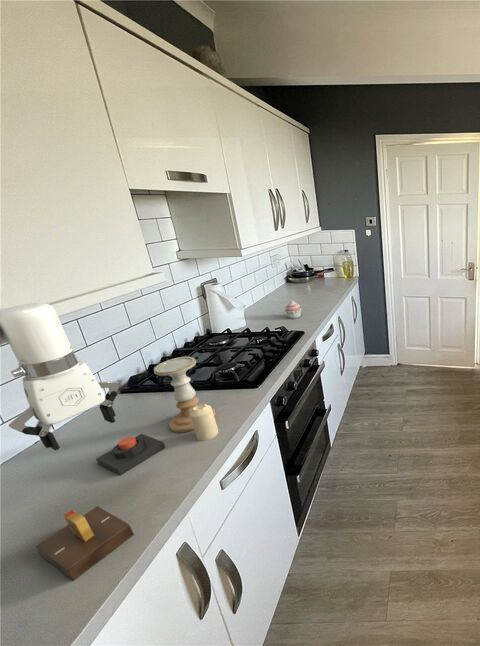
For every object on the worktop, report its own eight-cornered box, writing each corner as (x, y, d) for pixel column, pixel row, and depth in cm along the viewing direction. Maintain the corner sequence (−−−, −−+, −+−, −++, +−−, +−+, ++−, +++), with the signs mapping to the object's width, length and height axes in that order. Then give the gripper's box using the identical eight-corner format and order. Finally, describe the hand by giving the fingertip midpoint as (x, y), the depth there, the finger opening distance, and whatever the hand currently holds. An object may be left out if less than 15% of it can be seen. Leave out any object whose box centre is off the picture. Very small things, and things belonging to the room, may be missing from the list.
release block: (120, 476, 89) (115, 463, 87) (98, 465, 93) (93, 453, 91) (165, 448, 98) (161, 436, 97) (144, 439, 102) (139, 428, 100)
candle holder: (182, 411, 115) (163, 357, 107) (222, 407, 116) (206, 353, 109) (161, 435, 103) (139, 376, 96) (206, 430, 105) (187, 371, 98)
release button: (124, 451, 92) (122, 446, 91) (117, 448, 93) (114, 443, 93) (140, 443, 95) (137, 438, 94) (132, 440, 96) (130, 434, 96)
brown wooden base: (73, 580, 65) (66, 569, 64) (42, 556, 69) (35, 545, 68) (134, 534, 73) (129, 523, 72) (102, 515, 78) (97, 505, 77)
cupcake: (286, 315, 202) (283, 299, 199) (303, 313, 205) (300, 297, 202) (285, 321, 194) (282, 304, 191) (302, 318, 197) (300, 302, 193)
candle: (209, 427, 106) (200, 399, 103) (222, 430, 105) (214, 402, 101) (192, 438, 102) (183, 410, 98) (206, 442, 100) (197, 413, 96)
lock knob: (94, 535, 70) (84, 516, 68) (85, 542, 69) (74, 522, 67) (82, 527, 72) (72, 508, 70) (73, 533, 70) (62, 514, 68)
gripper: (-6, 389, 61) (37, 465, 67) (112, 350, 76) (138, 415, 82) (-22, 381, 64) (20, 454, 70) (94, 344, 79) (121, 408, 85)
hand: (84, 433), depth 76 cm, fingers open, 9 cm apart
